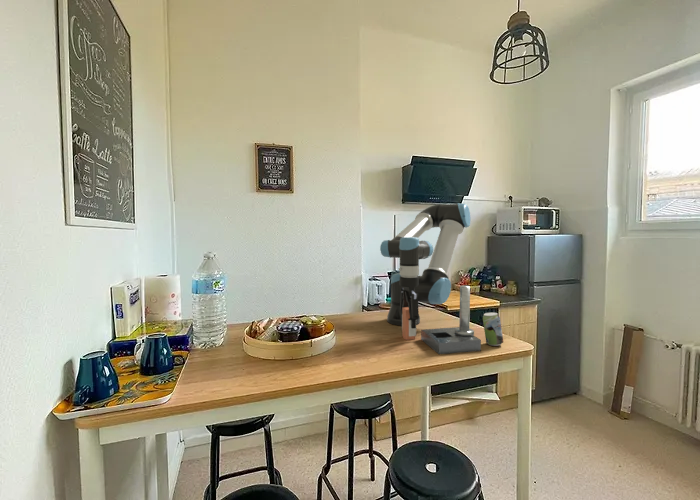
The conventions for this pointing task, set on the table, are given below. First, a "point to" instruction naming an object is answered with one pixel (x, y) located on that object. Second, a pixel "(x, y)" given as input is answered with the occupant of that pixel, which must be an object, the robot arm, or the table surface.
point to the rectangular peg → (406, 324)
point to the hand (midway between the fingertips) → (408, 332)
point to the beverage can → (492, 329)
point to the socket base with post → (454, 332)
